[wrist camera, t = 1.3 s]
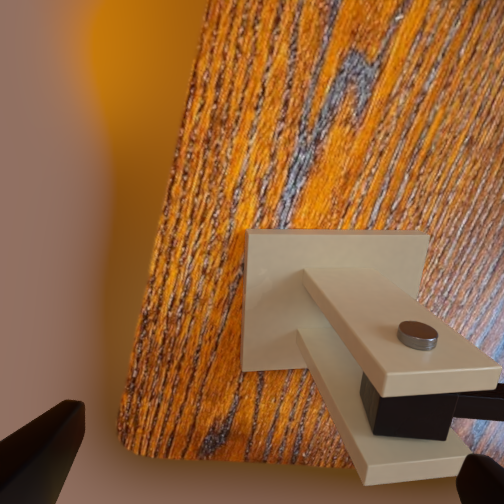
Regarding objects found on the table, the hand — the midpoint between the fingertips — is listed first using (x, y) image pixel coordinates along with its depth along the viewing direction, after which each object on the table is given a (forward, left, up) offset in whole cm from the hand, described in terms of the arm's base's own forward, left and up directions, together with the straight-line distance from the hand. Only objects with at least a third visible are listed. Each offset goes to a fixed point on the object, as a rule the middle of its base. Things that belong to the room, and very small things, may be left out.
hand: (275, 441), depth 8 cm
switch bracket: (+6, -4, -14) cm, 15 cm away
